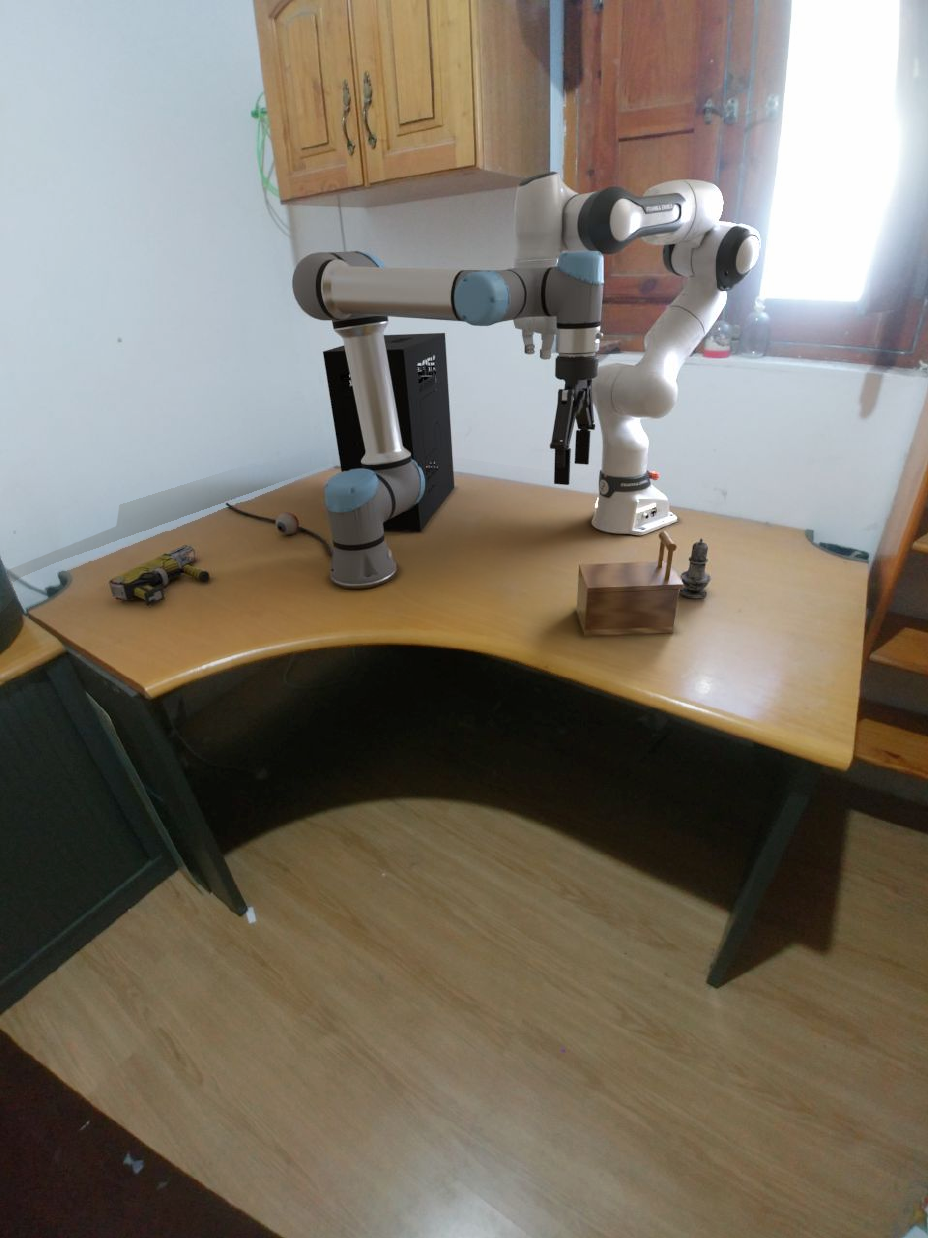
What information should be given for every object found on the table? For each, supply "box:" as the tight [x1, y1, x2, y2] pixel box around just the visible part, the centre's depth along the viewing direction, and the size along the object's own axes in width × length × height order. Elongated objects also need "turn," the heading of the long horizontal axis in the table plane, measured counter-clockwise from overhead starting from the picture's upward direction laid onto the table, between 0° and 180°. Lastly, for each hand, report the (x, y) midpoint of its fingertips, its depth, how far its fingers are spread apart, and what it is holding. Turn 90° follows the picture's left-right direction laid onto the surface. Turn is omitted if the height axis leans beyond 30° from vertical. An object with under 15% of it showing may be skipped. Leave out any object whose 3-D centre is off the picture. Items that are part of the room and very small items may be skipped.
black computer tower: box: [322, 332, 455, 533], centre depth 168 cm, size 38×20×45 cm, turn 167°
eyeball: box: [275, 511, 300, 536], centre depth 163 cm, size 6×6×6 cm
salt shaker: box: [679, 537, 712, 599], centre depth 122 cm, size 6×6×12 cm
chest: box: [576, 570, 680, 637], centre depth 114 cm, size 16×10×9 cm, turn 89°
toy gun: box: [108, 544, 210, 607], centre depth 141 cm, size 5×24×15 cm
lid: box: [578, 530, 685, 593], centre depth 110 cm, size 17×10×8 cm, turn 89°
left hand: (572, 473), depth 116 cm, fingers open, 13 cm apart
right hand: (537, 356), depth 122 cm, fingers open, 8 cm apart
